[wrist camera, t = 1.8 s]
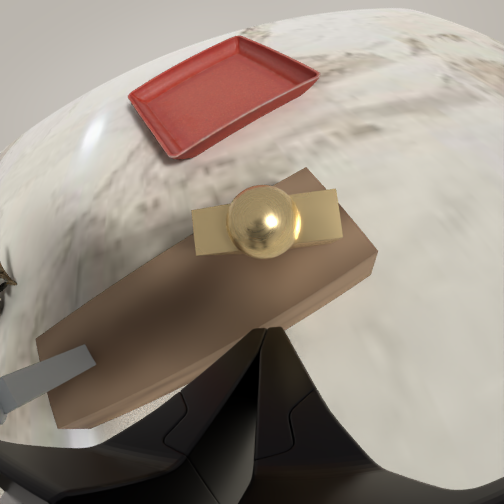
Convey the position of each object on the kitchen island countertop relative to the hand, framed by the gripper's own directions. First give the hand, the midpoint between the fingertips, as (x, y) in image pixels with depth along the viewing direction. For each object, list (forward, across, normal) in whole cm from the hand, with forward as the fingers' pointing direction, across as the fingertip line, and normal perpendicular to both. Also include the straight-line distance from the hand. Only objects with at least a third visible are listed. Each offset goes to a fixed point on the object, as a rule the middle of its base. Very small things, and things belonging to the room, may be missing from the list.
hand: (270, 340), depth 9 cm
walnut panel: (+11, +8, +6) cm, 15 cm away
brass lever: (+12, 0, 0) cm, 12 cm away
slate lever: (+6, +16, +6) cm, 18 cm away
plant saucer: (+30, +7, -12) cm, 34 cm away
